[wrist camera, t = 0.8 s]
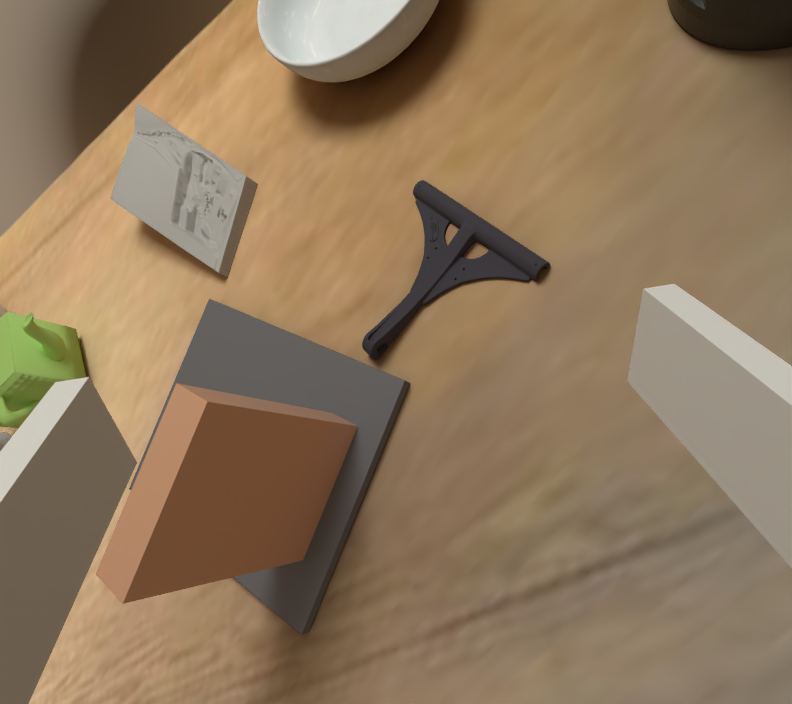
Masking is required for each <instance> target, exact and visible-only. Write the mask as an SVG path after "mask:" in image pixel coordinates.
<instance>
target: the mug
mask: <svg viewBox="0 0 792 704" xmlns="http://www.w3.org/2000/svg"><path fill="white" fill-rule="evenodd" d="M6 312H7V311H6V310H5V309H4V308H3V307H2V306H1V305H0V318H1V317H2V316H3V315H4V314H5V313H6Z"/></svg>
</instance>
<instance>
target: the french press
mask: <svg viewBox="0 0 792 704" xmlns="http://www.w3.org/2000/svg"><path fill="white" fill-rule="evenodd" d="M11 437H12V436H11V435H9V434H7V433H5V432H3V433H0V451H1V450H2V449H3V447H4V446H5V445H6V444H7V442H8V441H9V440H10V439H11Z"/></svg>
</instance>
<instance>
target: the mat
mask: <svg viewBox="0 0 792 704" xmlns="http://www.w3.org/2000/svg"><path fill="white" fill-rule="evenodd" d="M176 383H178V384H184V385H189V386H194V387H199V388H205V389H210V390H215V391H220V392H226V393H231V394H236V395H241V396H246V397H252V398H257V399H262V400H267V401H273V402H278V403H283V404H288V405H294V406H299V407H304V408H309V409H315V410H320V411H325V412H330V413H333V414H335V415H337V416H339V417H341V418H343V419H345V420H347V421H349V422H351V423H353V424H355V425H357V426H358V427H357V430H356V432H355V434H354V437H353V439H352V442H351V444H350V447H349V449H348V452H347V454H346V457H345V459H344V461H343V464H342V466H341V469H340V471H339V474H338V476H337V479H336V481H335V483H334V486H333V488H332V491H331V493H330V496H329V498H328V501H327V503H326V505H325V508H324V510H323V513H322V515H321V518H320V520H319V523H318V525H317V527H316V530H315V532H314V535H313V537H312V540H311V542H310V545H309V547H308V549H307V552H306V554H305V557H304V559H303V561H298V562H294V563H290V564H286V565H282V566H278V567H273V568H269V569H265V570H261V571H257V572H253V573H248V574H244V575H240V576H236V577H233V578H235V579H236V580H237V581H238V582H239V583H240V584H242V585H243V586H244V587H245V588H246V589H248V590H249V591H250V592H251V593H252V594H253V595H255V596H256V597H257V598H258V599H259V600H260V601H262V602H263V603H264V604H265V605H266V606H267V607H269V608H270V609H271V610H272V611H273V612H275V613H276V614H277V615H278V616H279V617H280V618H282V619H283V620H284V621H285V622H286V623H287V624H289V625H290V626H291V627H292V628H293V629H294V630H296V631H297V632H298V633H299V634H300V635H303V634H305V633H307V632H309V630H310V628H311V625H312V623H313V620H314V618H315V615H316V613H317V611H318V608H319V606H320V603H321V601H322V598H323V596H324V593H325V591H326V588H327V586H328V584H329V581H330V579H331V576H332V574H333V571H334V569H335V566H336V564H337V561H338V559H339V556H340V554H341V552H342V549H343V547H344V544H345V542H346V539H347V537H348V534H349V532H350V529H351V527H352V524H353V522H354V520H355V517H356V515H357V512H358V510H359V507H360V505H361V502H362V500H363V497H364V495H365V492H366V490H367V488H368V485H369V483H370V480H371V478H372V475H373V473H374V470H375V468H376V465H377V463H378V460H379V458H380V456H381V453H382V451H383V448H384V446H385V443H386V441H387V438H388V436H389V433H390V431H391V428H392V426H393V424H394V421H395V419H396V416H397V414H398V411H399V409H400V406H401V404H402V401H403V399H404V397H405V394H406V392H407V389H408V387H409V384H410V383H409V382H407V381H404V380H402V379H399V378H397V377H395V376H392V375H390V374H387V373H385V372H383V371H380V370H378V369H376V368H373V367H371V366H368V365H366V364H364V363H361V362H359V361H357V360H354V359H352V358H349V357H347V356H345V355H342V354H340V353H337V352H335V351H333V350H330V349H328V348H326V347H323V346H321V345H318V344H316V343H314V342H311V341H309V340H307V339H304V338H302V337H299V336H297V335H295V334H292V333H290V332H287V331H285V330H283V329H280V328H278V327H276V326H273V325H271V324H268V323H266V322H264V321H261V320H259V319H257V318H254V317H252V316H249V315H247V314H245V313H242V312H240V311H237V310H235V309H233V308H230V307H228V306H226V305H223V304H221V303H218V302H216V301H213V300H211V299H209V301H208V303H207V305H206V308H205V310H204V313H203V315H202V317H201V320H200V322H199V324H198V327H197V329H196V332H195V334H194V336H193V339H192V341H191V343H190V346H189V348H188V351H187V353H186V355H185V358H184V360H183V362H182V365H181V367H180V369H179V372H178V374H177V377H176V379H175V381H174V384H173V386H172V388H171V391H170V393H169V396H168V398H167V400H166V403H165V405H164V407H163V410H162V412H161V415H160V417H159V419H158V422H157V424H156V426H155V429H154V431H153V433H152V436H151V438H150V441H149V443H148V445H147V448H146V450H145V452H144V455H143V457H142V460H141V462H140V464H139V467H138V469H137V471H136V474H135V476H134V479H133V481H132V483H131V486H130V488H129V489H130V490H132V487H133V485H134V482H135V480H136V478H137V475H138V473H139V471H140V468H141V466H142V463H143V461H144V459H145V456H146V454H147V452H148V449H149V447H150V444H151V442H152V440H153V437H154V435H155V433H156V430H157V428H158V426H159V423H160V421H161V418H162V416H163V414H164V411H165V409H166V407H167V404H168V402H169V399H170V397H171V395H172V392H173V390H174V388H175V385H176Z"/></svg>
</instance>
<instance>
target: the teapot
mask: <svg viewBox="0 0 792 704" xmlns="http://www.w3.org/2000/svg"><path fill="white" fill-rule="evenodd" d="M85 377H86V372H85V368H84V364H83V359H82V354H81V350H80V345H79V341H78V336H77V332H76V329H74V328H71V327H67V326H63V325H59V324H55V323H51V322H47V321H43V320H39V319H35V318H33V313H32V312H31V313H29V314H28V315H27V316H23V315H19V314H15V313H11V312H6V313H5V314H4V315H3V316H2V317H1V318H0V426H1V427H15V428H19V427H20V426H21V425H22V424H23V422H24V421H25V420H26V418H27V417H28V416H29V415H30V413H31V412H32V411H33V410H34V408H35V407H36V406H37V405H38V403H39V402H40V401H41V400H42V398H43V397H44V396H45V395H46V393H47V392H48V391H49V390H50V388H51V387H52V386H53V385H54V383H55V382H60V381H67V380H73V379H79V378H85Z"/></svg>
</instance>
